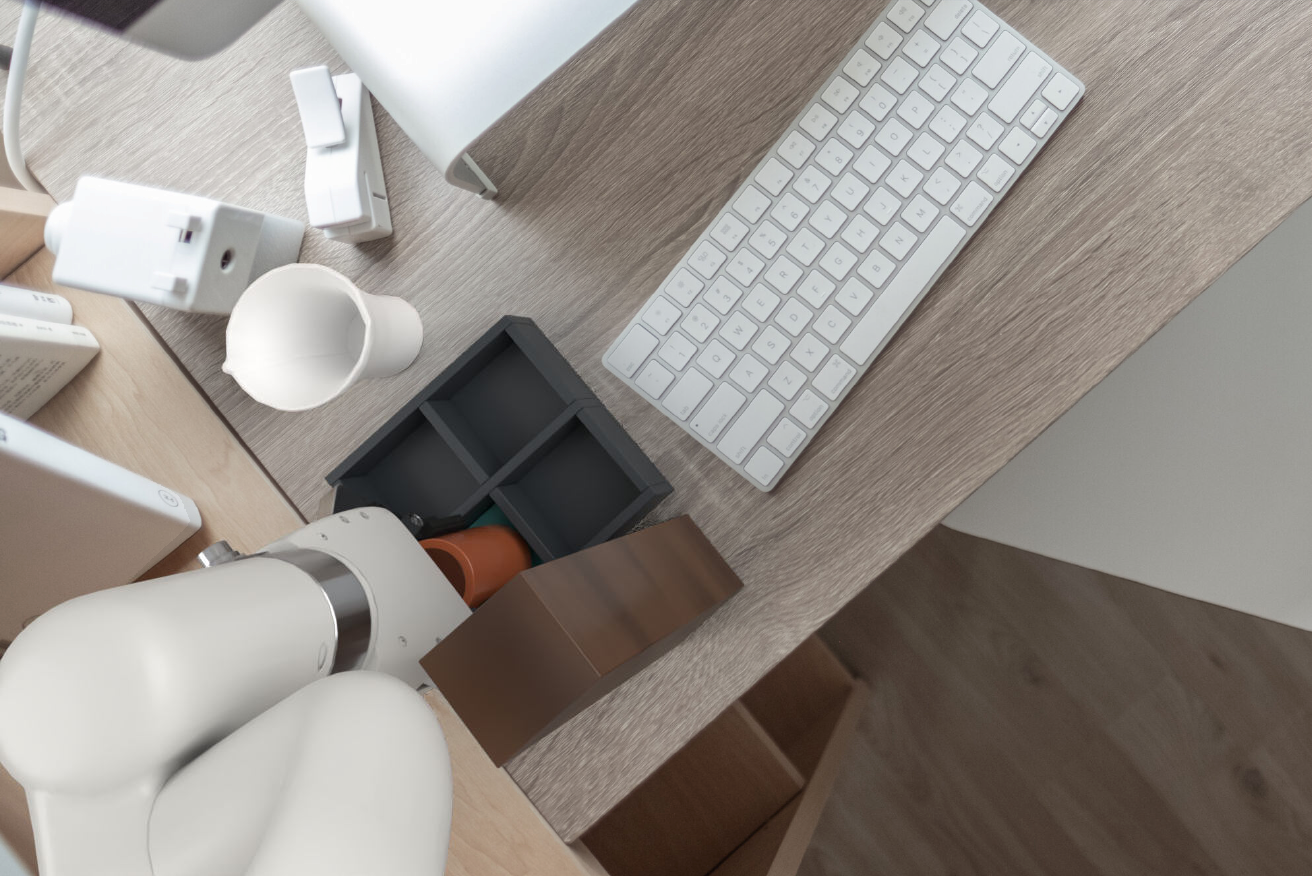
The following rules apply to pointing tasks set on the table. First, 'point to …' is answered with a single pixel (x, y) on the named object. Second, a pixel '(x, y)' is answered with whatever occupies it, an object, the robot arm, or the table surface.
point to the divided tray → (510, 450)
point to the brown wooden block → (576, 632)
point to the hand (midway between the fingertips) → (473, 571)
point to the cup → (315, 337)
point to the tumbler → (479, 559)
